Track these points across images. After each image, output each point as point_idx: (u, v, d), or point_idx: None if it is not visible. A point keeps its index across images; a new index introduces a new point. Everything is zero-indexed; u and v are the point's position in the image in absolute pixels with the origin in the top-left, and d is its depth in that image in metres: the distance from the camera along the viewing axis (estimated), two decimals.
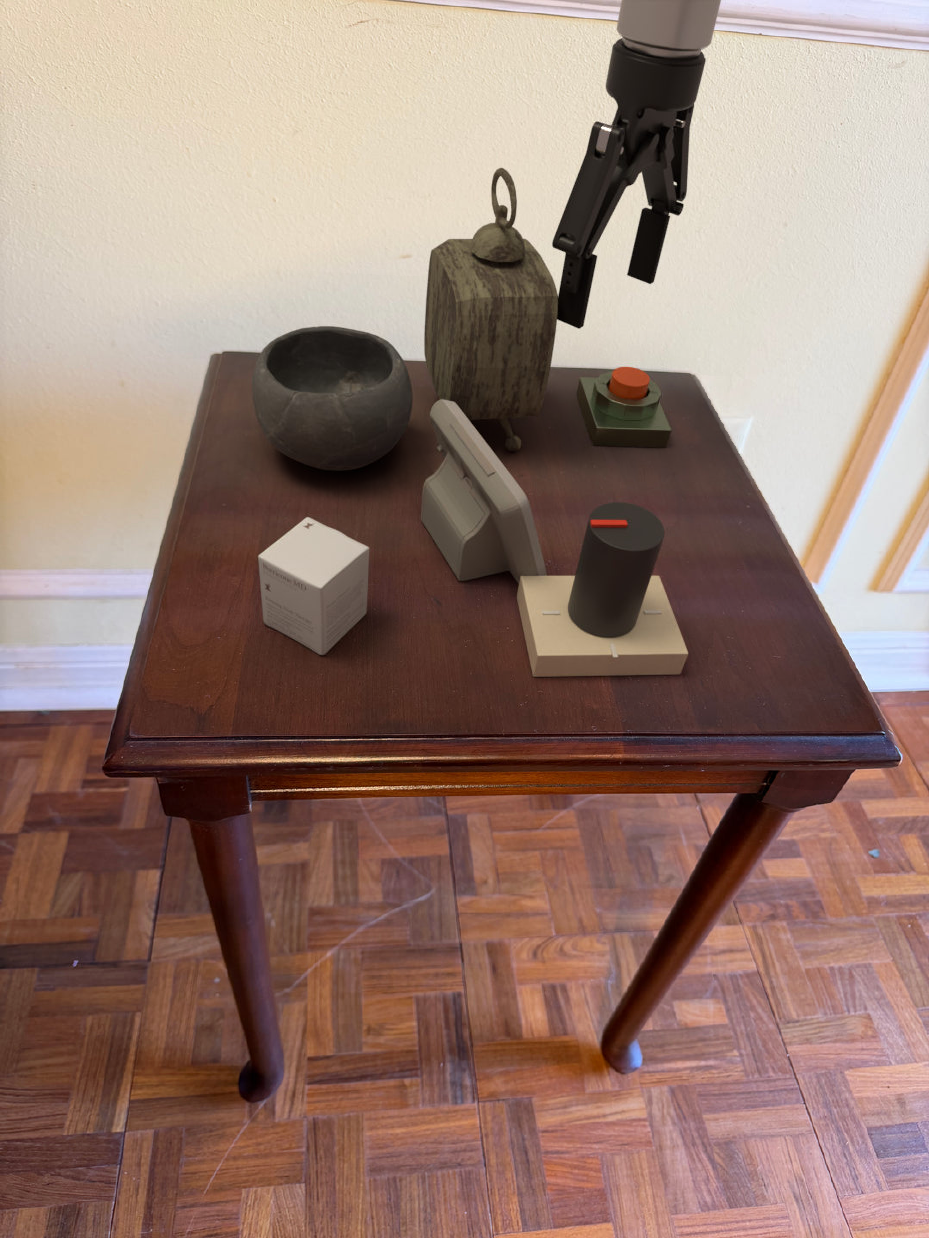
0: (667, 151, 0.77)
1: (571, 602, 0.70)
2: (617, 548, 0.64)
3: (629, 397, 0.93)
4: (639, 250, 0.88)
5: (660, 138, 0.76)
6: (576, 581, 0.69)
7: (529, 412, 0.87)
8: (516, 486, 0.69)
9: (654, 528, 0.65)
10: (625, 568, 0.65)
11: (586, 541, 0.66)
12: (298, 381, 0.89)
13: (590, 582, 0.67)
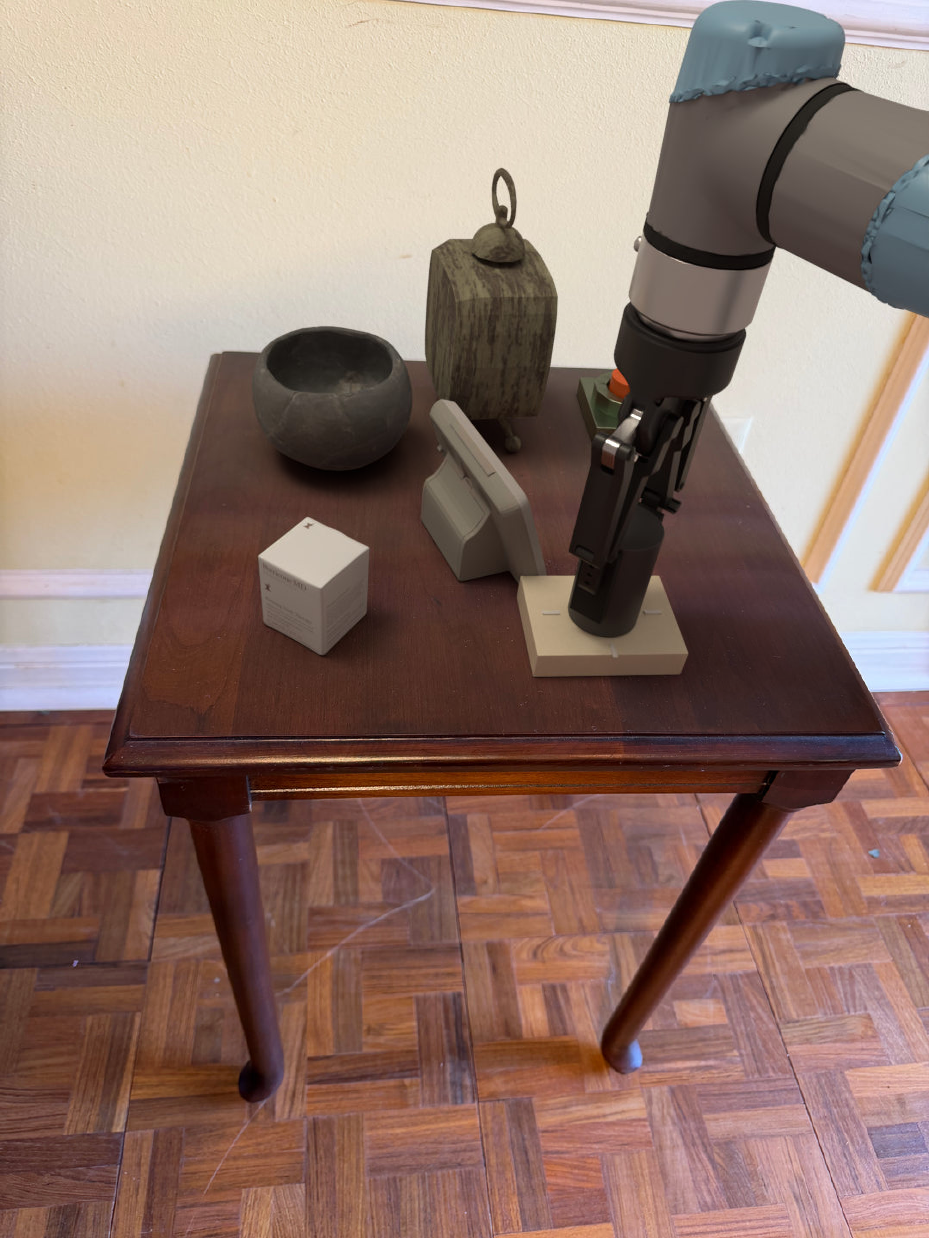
0: (687, 430, 0.60)
1: None
2: None
3: None
4: None
5: (684, 413, 0.58)
6: None
7: (529, 412, 0.87)
8: (516, 486, 0.69)
9: (654, 528, 0.65)
10: (625, 568, 0.65)
11: None
12: (298, 381, 0.89)
13: None
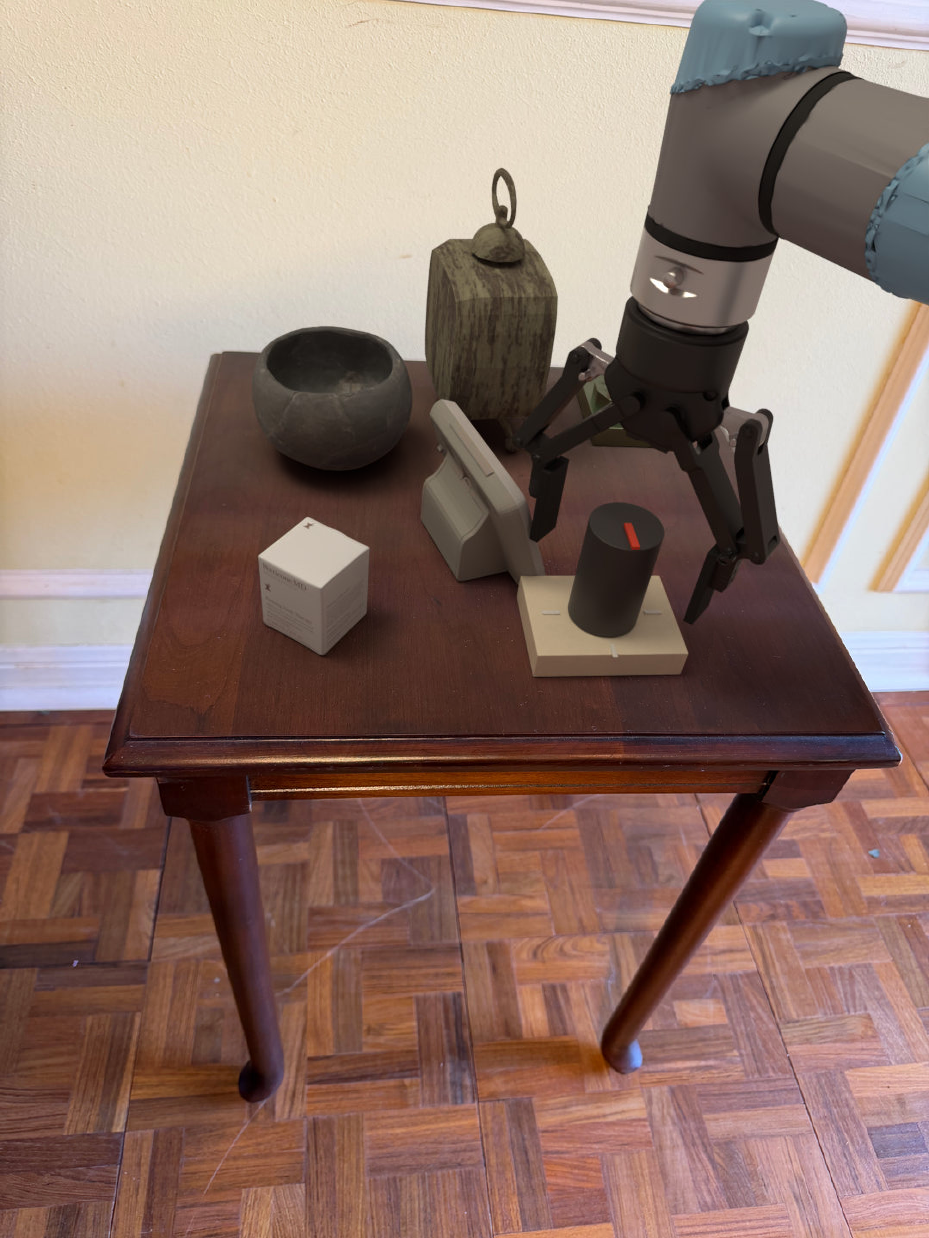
0: None
1: (614, 626, 0.69)
2: (663, 538, 0.65)
3: None
4: (547, 510, 0.69)
5: None
6: (620, 605, 0.67)
7: (529, 412, 0.87)
8: (514, 486, 0.69)
9: (625, 508, 0.67)
10: None
11: (632, 565, 0.64)
12: (298, 381, 0.89)
13: (642, 588, 0.67)
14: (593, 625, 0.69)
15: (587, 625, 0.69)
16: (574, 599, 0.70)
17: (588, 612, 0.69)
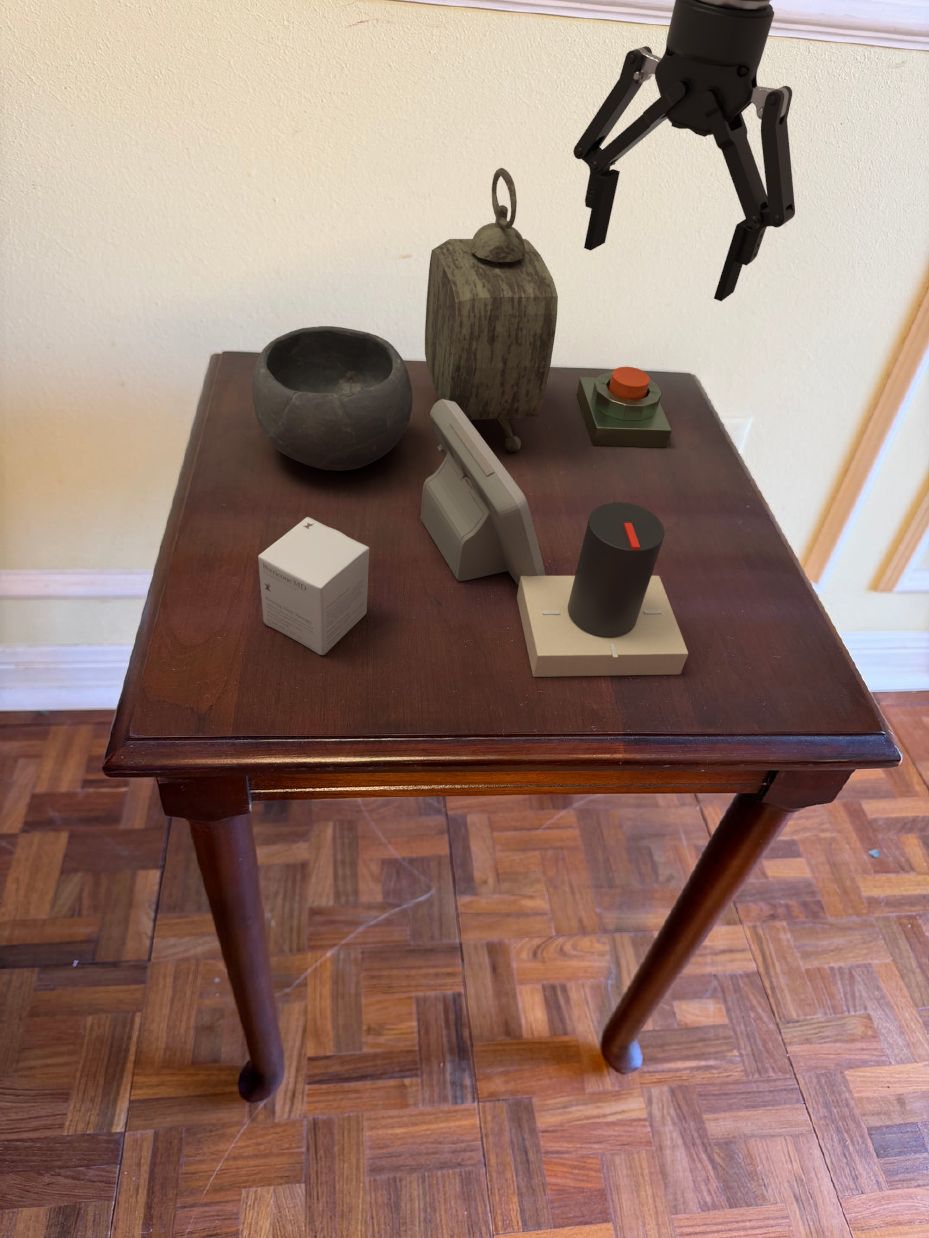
0: None
1: (614, 626, 0.69)
2: (663, 538, 0.65)
3: (629, 397, 0.93)
4: (600, 219, 0.83)
5: None
6: (620, 605, 0.67)
7: (529, 412, 0.87)
8: (515, 486, 0.69)
9: (625, 508, 0.67)
10: None
11: (632, 565, 0.64)
12: (298, 381, 0.89)
13: (642, 588, 0.67)
14: (593, 625, 0.69)
15: (587, 625, 0.69)
16: (574, 599, 0.70)
17: (588, 612, 0.69)
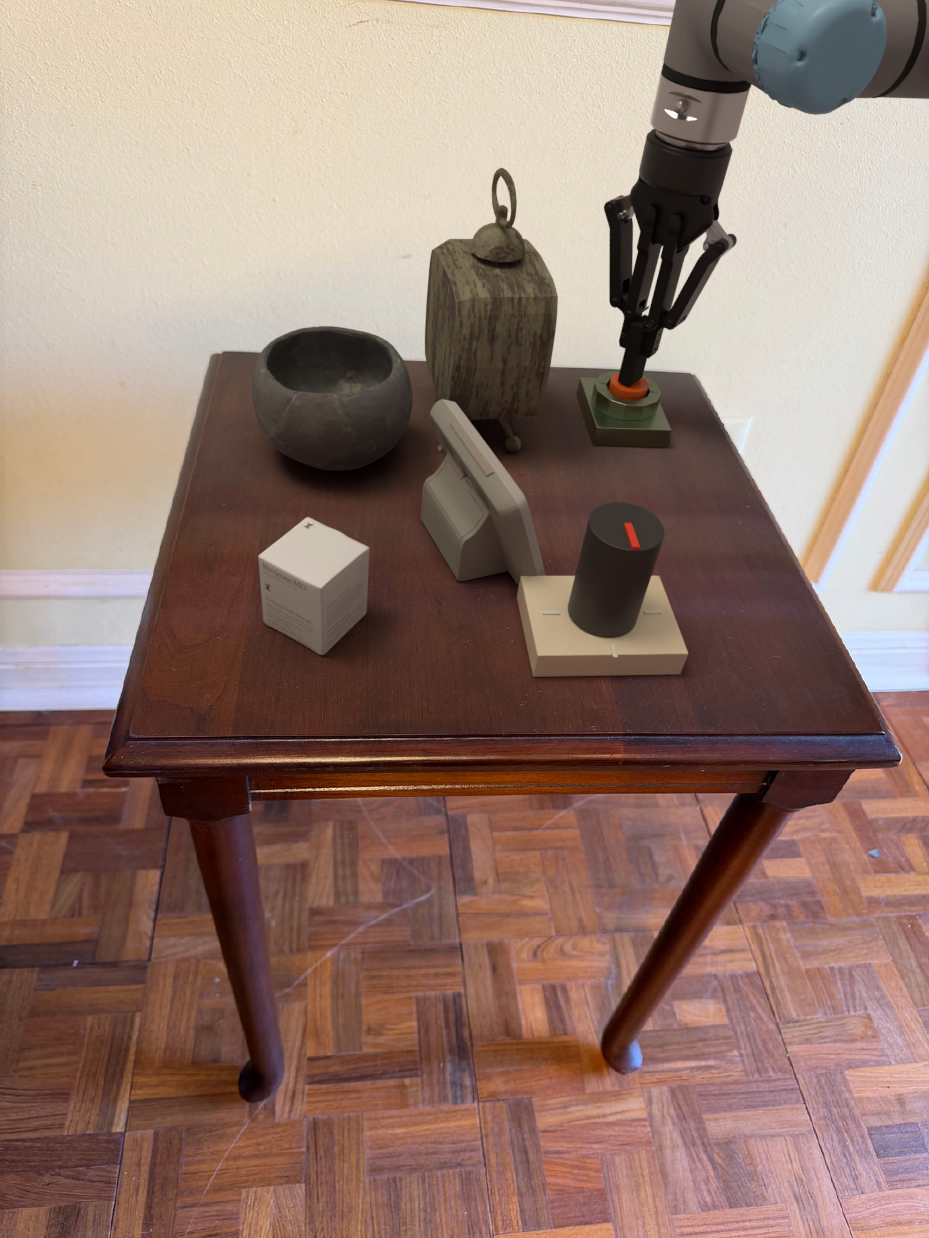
0: None
1: (614, 626, 0.69)
2: (663, 538, 0.65)
3: None
4: None
5: None
6: (620, 605, 0.67)
7: (529, 412, 0.87)
8: (515, 486, 0.69)
9: (625, 508, 0.67)
10: None
11: (632, 565, 0.64)
12: (298, 381, 0.89)
13: (642, 588, 0.67)
14: (593, 625, 0.69)
15: (587, 625, 0.69)
16: (574, 599, 0.70)
17: (588, 612, 0.69)
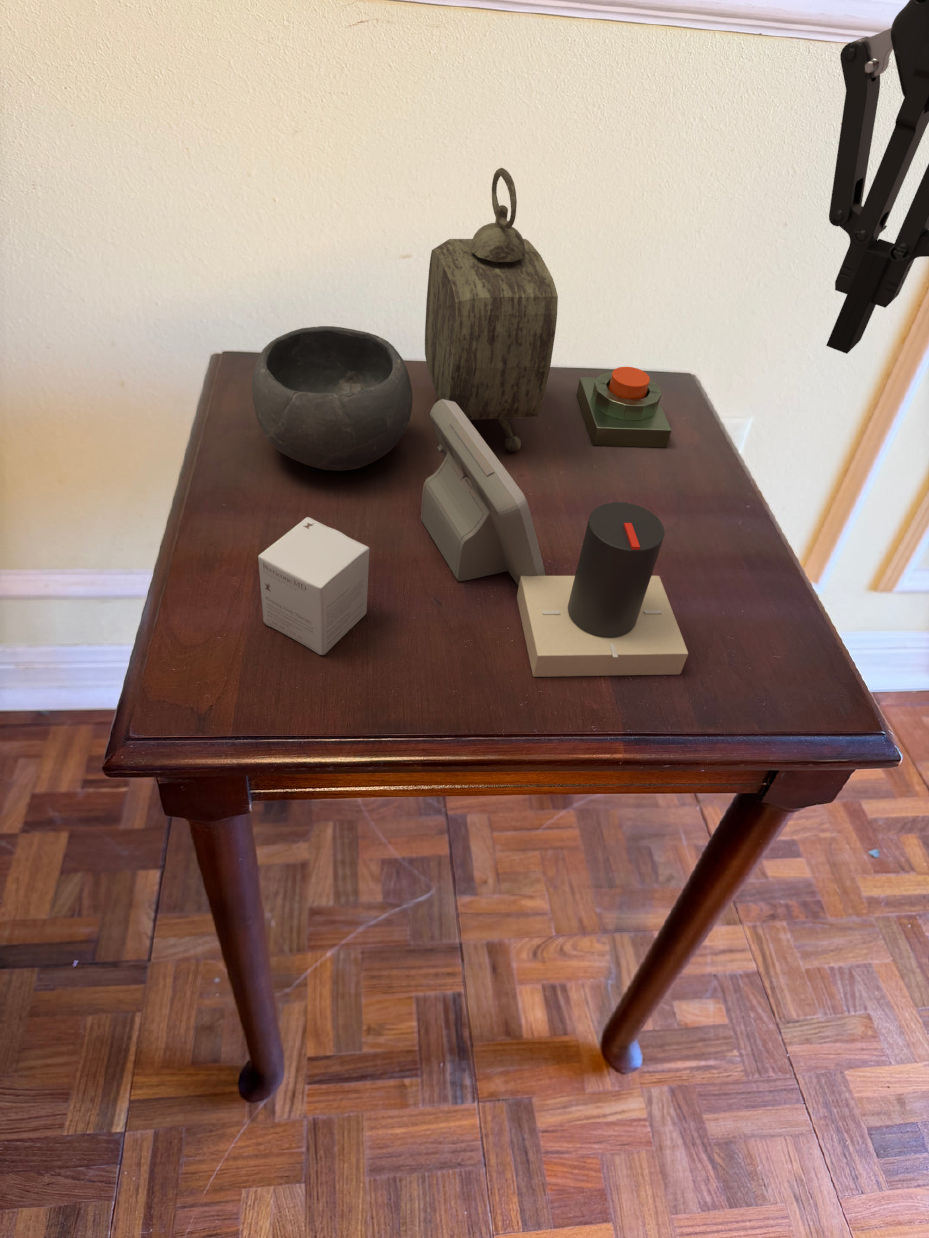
0: None
1: (614, 626, 0.69)
2: (663, 538, 0.65)
3: (629, 397, 0.93)
4: None
5: None
6: (620, 605, 0.67)
7: (529, 412, 0.87)
8: (515, 486, 0.69)
9: (625, 508, 0.67)
10: None
11: (632, 565, 0.64)
12: (298, 381, 0.89)
13: (642, 588, 0.67)
14: (593, 625, 0.69)
15: (587, 625, 0.69)
16: (574, 599, 0.70)
17: (588, 612, 0.69)
